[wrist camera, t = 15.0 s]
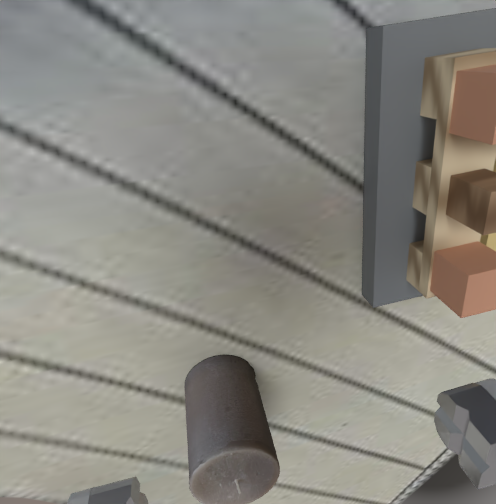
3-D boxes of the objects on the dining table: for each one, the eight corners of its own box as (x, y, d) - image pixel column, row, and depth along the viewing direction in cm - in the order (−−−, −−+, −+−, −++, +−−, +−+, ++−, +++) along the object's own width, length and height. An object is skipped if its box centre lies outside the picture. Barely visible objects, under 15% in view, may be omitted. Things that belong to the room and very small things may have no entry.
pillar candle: (267, 364, 51) (301, 469, 38) (234, 413, 54) (255, 526, 41) (203, 345, 48) (216, 453, 35) (171, 399, 51) (172, 517, 38)
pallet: (424, 57, 34) (504, 58, 26) (480, 48, 34) (574, 46, 27) (406, 279, 45) (457, 326, 37) (447, 269, 46) (506, 313, 38)
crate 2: (434, 251, 39) (468, 275, 35) (478, 241, 40) (517, 263, 35) (429, 290, 41) (461, 318, 37) (470, 280, 42) (506, 306, 38)
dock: (366, 27, 34) (395, 23, 30) (503, 6, 36) (550, 0, 32) (361, 294, 49) (381, 317, 45) (459, 270, 50) (487, 291, 46)
